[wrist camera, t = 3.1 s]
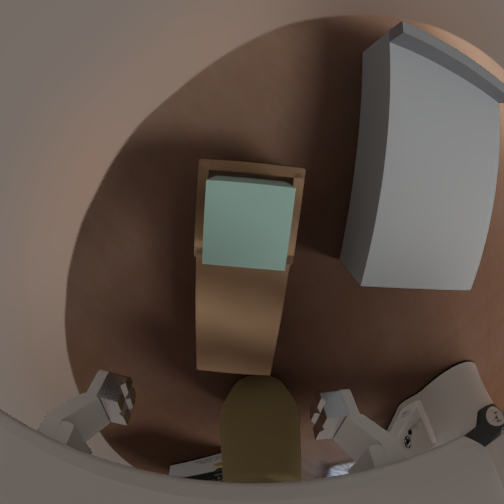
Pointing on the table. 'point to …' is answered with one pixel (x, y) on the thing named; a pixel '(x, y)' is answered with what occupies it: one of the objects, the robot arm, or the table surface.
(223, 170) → the pallet
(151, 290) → the table surface
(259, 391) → the squeeze bottle
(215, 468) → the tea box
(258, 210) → the mint green cube
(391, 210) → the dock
